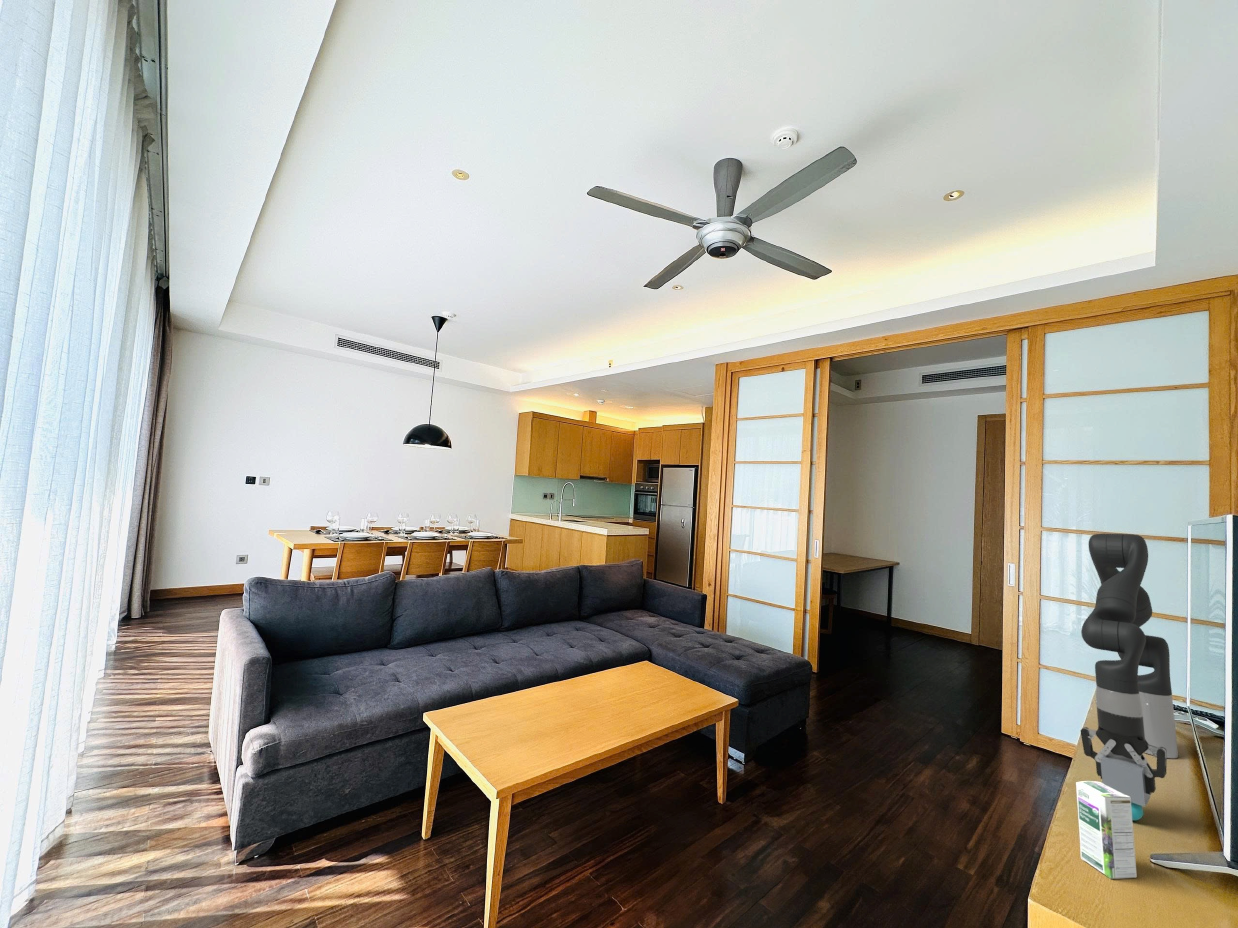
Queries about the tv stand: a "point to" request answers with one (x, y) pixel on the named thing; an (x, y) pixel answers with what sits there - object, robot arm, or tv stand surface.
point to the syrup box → (1106, 829)
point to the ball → (1136, 811)
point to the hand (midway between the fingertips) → (1125, 785)
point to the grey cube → (1124, 777)
